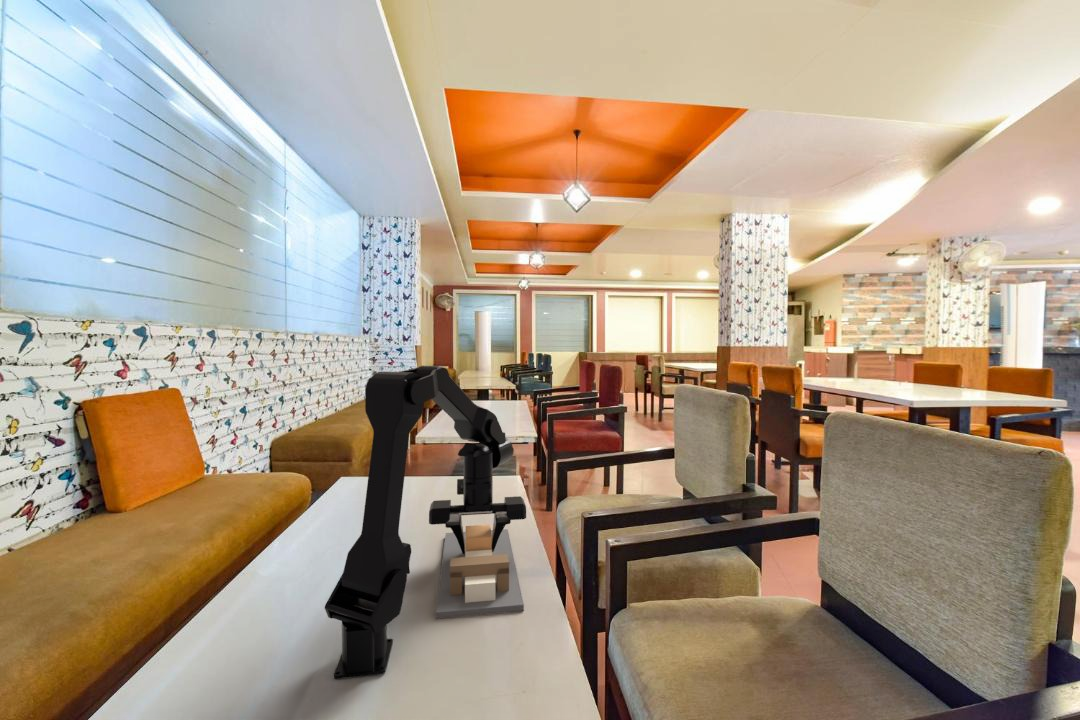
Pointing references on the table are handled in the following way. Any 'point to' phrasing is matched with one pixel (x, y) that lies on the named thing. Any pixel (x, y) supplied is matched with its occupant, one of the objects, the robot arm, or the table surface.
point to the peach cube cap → (478, 538)
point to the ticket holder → (478, 580)
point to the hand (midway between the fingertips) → (478, 552)
